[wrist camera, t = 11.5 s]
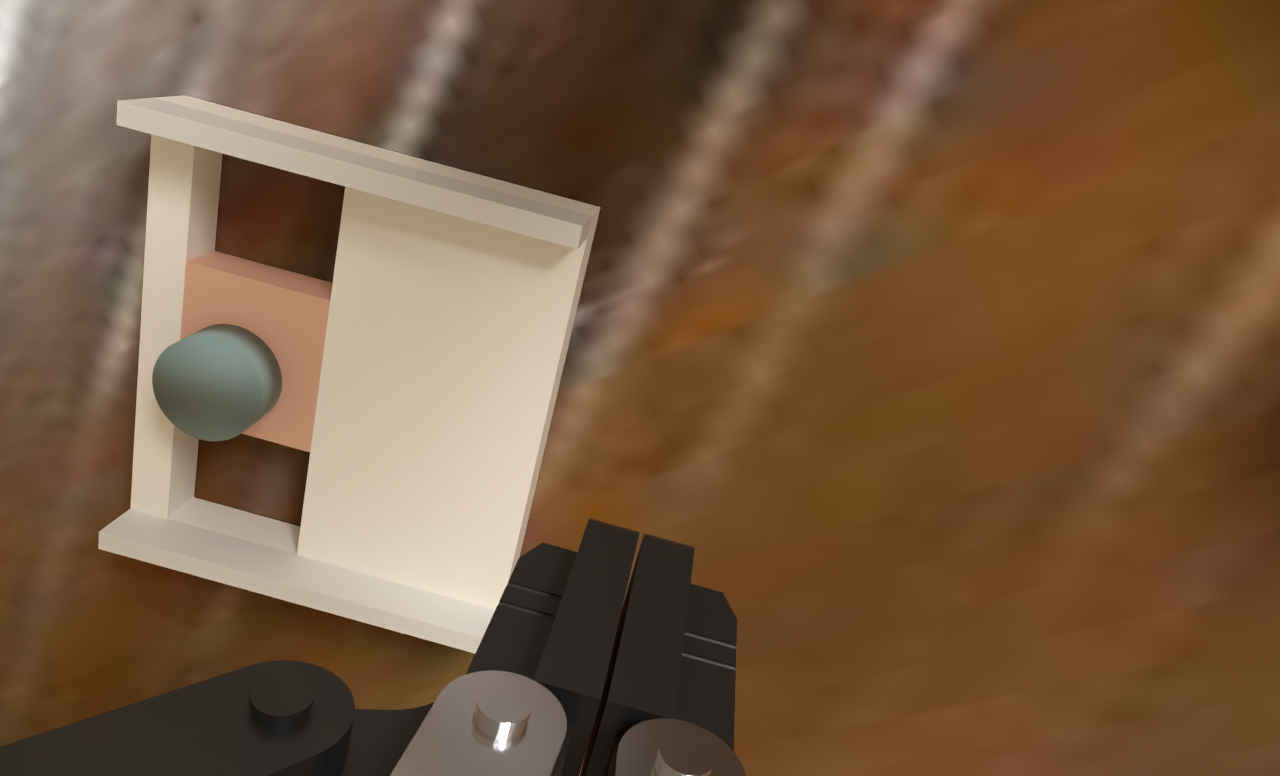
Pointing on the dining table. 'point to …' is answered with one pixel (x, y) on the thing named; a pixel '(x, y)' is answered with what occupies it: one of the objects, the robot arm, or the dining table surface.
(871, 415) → the dining table surface
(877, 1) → the dining table surface
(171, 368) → the puck
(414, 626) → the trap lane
